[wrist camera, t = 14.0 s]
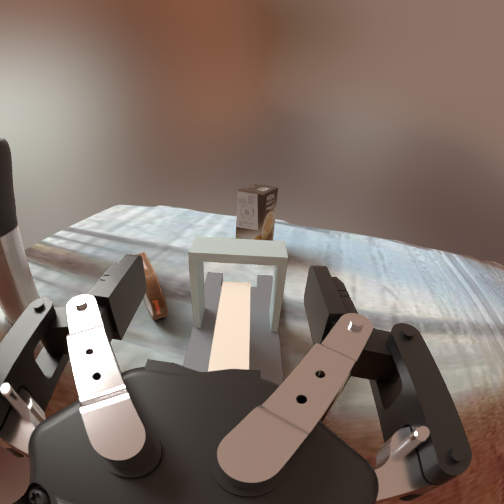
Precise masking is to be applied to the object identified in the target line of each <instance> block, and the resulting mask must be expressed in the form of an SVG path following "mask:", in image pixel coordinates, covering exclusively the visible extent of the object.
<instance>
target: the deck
mask: <svg viewBox="0 0 504 504" xmlns="http://www.w3.org/2000/svg"><path fill="white" fill-rule="evenodd" d="M222 282H223V273H211V272H208V274H207V277H206V281H205V284H204V294H205V311H204V315H203V319H202V324H201V328H195V327H194V325H193V328H192V332H191V336H190V340H189V344H188V348H187V352H186V356H185V360H184V364H183V366H184V367H187V368H190V369H193V370H196V371H199V372H208V367H209V361H210V354H211V348H212V342H213V336H214V330H215V324H216V318H217V312H218V307H219V301H220V295H221V289H222ZM272 285H273V276H266V275H258V277H257V288H256V287H251V288H250V342H249V370H260V375H261V378H262V379H266V380H269V381H272V382H274V383H276V384H278V385H281V384H282V383H283V382H284V381H283V370H282V360H281V350H280V340H279V330H278V331H277V332H271V328H270V314H269V310H270V302H271V293H272Z"/></svg>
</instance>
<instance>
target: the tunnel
mask: <svg viewBox="0 0 504 504" xmlns="http://www.w3.org/2000/svg"><path fill="white" fill-rule="evenodd" d="M188 255H189V272H190V286H191V299H192V311H193V321H194V327H195V328H201V324H202V319H203V315H204V311H205V294H204V269H203V262H220V263H239V264H257V265H275V267H274V276H273V285H272V293H271V302H270V310H269V314H270V328H271V332H277V331H278V325H279V319H280V312H281V306H282V299H283V292H284V285H285V278H286V270H287V263H288V255H287V251H286V246H285V242H284V241H269V240H251V239H232V238H213V237H195V239H194V241H193V244H192V246H191V248H190V250H189V252H188Z"/></svg>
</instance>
